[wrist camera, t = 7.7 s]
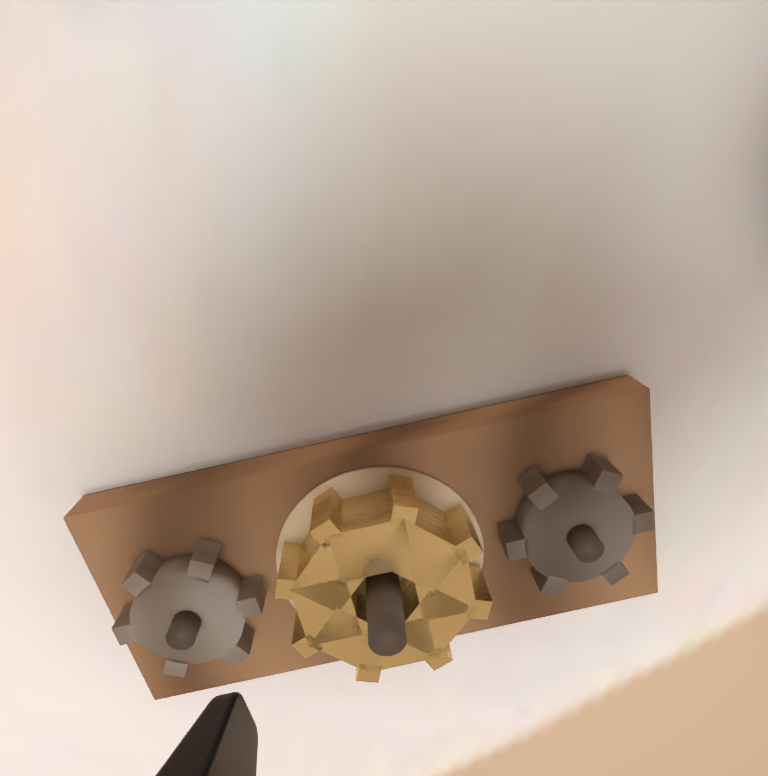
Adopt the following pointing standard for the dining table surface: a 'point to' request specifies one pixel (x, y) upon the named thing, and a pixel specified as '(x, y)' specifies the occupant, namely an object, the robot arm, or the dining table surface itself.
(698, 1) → the dining table surface
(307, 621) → the wooden gear
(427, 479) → the gear board
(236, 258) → the dining table surface
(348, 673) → the dining table surface
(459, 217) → the dining table surface
